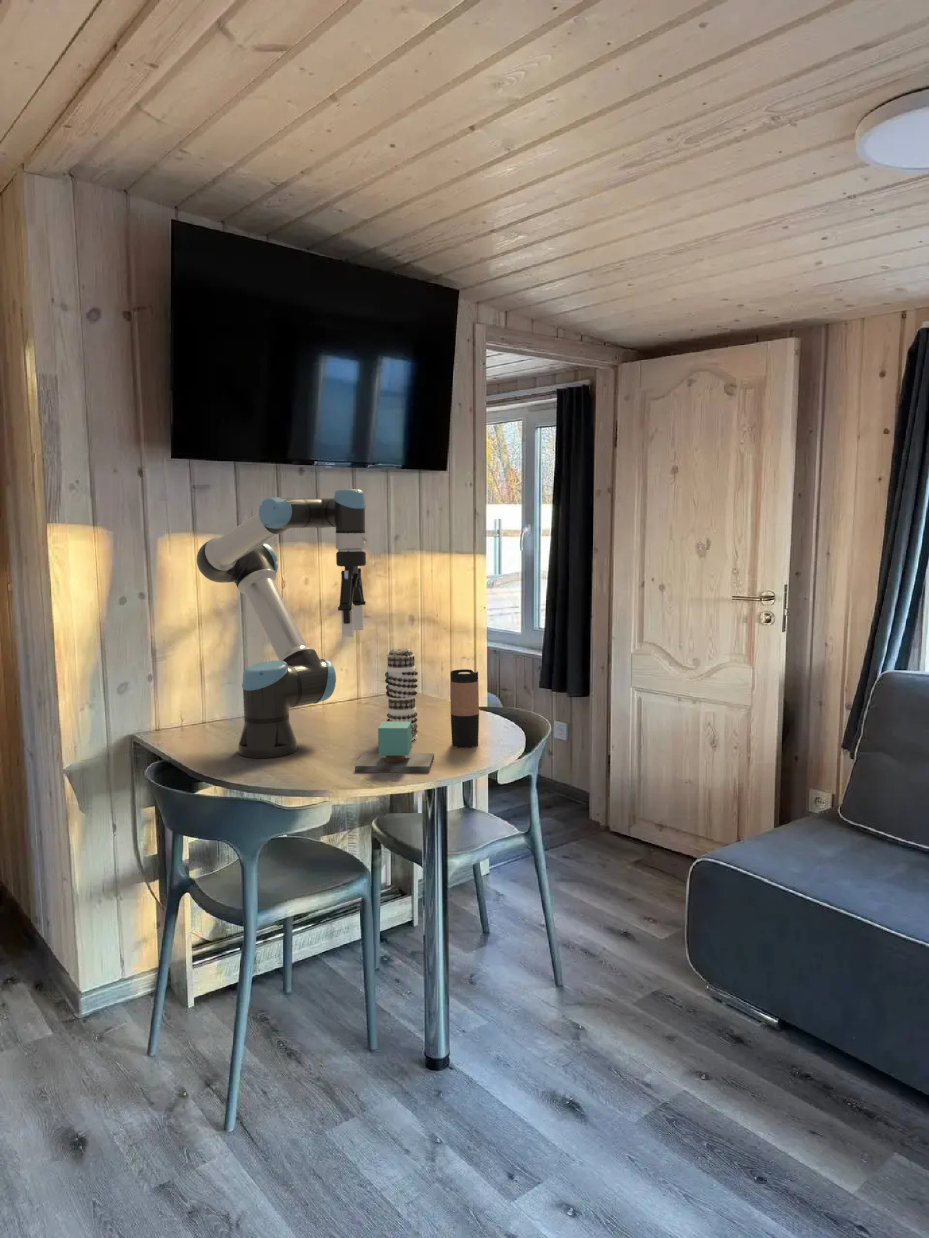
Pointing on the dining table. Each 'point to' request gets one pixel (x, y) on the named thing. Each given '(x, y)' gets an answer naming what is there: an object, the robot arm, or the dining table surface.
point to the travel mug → (464, 708)
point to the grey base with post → (395, 763)
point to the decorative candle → (401, 687)
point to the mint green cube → (395, 738)
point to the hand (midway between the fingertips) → (353, 633)
